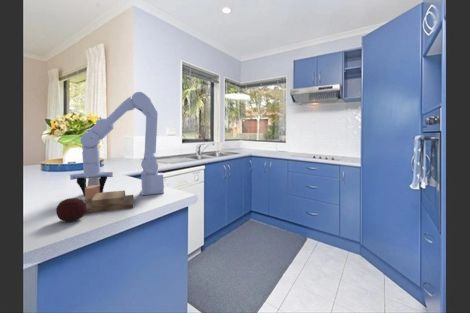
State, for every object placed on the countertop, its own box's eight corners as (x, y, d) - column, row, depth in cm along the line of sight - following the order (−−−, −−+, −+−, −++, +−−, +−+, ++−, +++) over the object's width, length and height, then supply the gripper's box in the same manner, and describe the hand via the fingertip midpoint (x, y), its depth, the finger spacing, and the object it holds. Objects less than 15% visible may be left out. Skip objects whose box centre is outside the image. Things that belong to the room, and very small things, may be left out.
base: (133, 198, 93) (133, 188, 92) (133, 208, 81) (132, 197, 81) (88, 202, 86) (87, 192, 86) (80, 214, 75) (80, 202, 74)
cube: (101, 196, 95) (101, 184, 95) (99, 199, 91) (99, 187, 90) (87, 197, 93) (87, 186, 93) (85, 201, 89) (84, 188, 88)
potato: (62, 217, 72) (61, 196, 71) (90, 214, 74) (89, 194, 74) (52, 226, 65) (50, 203, 64) (82, 223, 67) (81, 200, 67)
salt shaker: (95, 194, 97) (93, 165, 96) (84, 194, 98) (82, 165, 97) (105, 191, 103) (103, 163, 101) (94, 190, 104) (93, 163, 103)
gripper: (112, 160, 97) (114, 191, 98) (72, 162, 91) (74, 194, 92) (111, 162, 90) (112, 195, 92) (67, 164, 84) (70, 199, 86)
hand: (93, 195), depth 92 cm, fingers closed on cube, 5 cm apart
